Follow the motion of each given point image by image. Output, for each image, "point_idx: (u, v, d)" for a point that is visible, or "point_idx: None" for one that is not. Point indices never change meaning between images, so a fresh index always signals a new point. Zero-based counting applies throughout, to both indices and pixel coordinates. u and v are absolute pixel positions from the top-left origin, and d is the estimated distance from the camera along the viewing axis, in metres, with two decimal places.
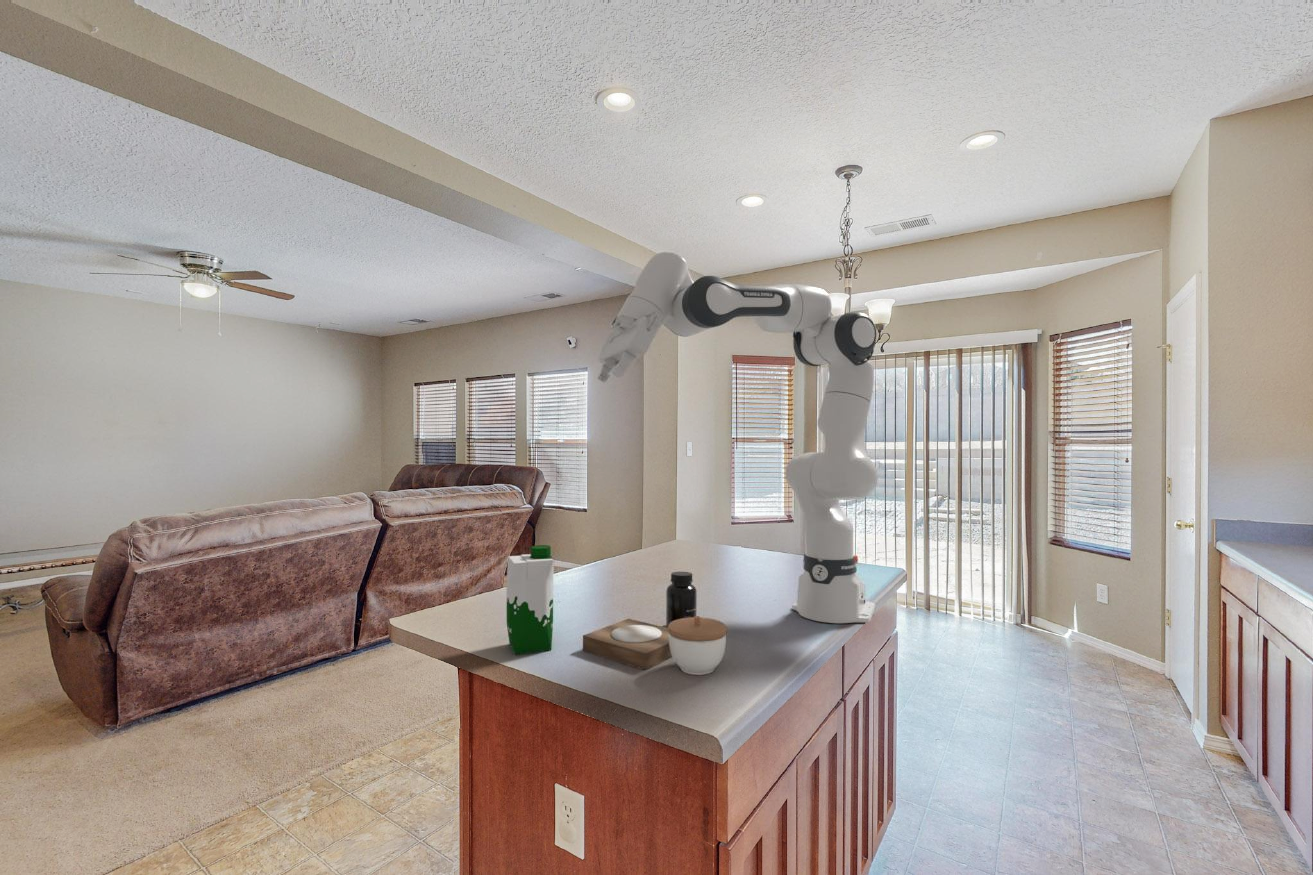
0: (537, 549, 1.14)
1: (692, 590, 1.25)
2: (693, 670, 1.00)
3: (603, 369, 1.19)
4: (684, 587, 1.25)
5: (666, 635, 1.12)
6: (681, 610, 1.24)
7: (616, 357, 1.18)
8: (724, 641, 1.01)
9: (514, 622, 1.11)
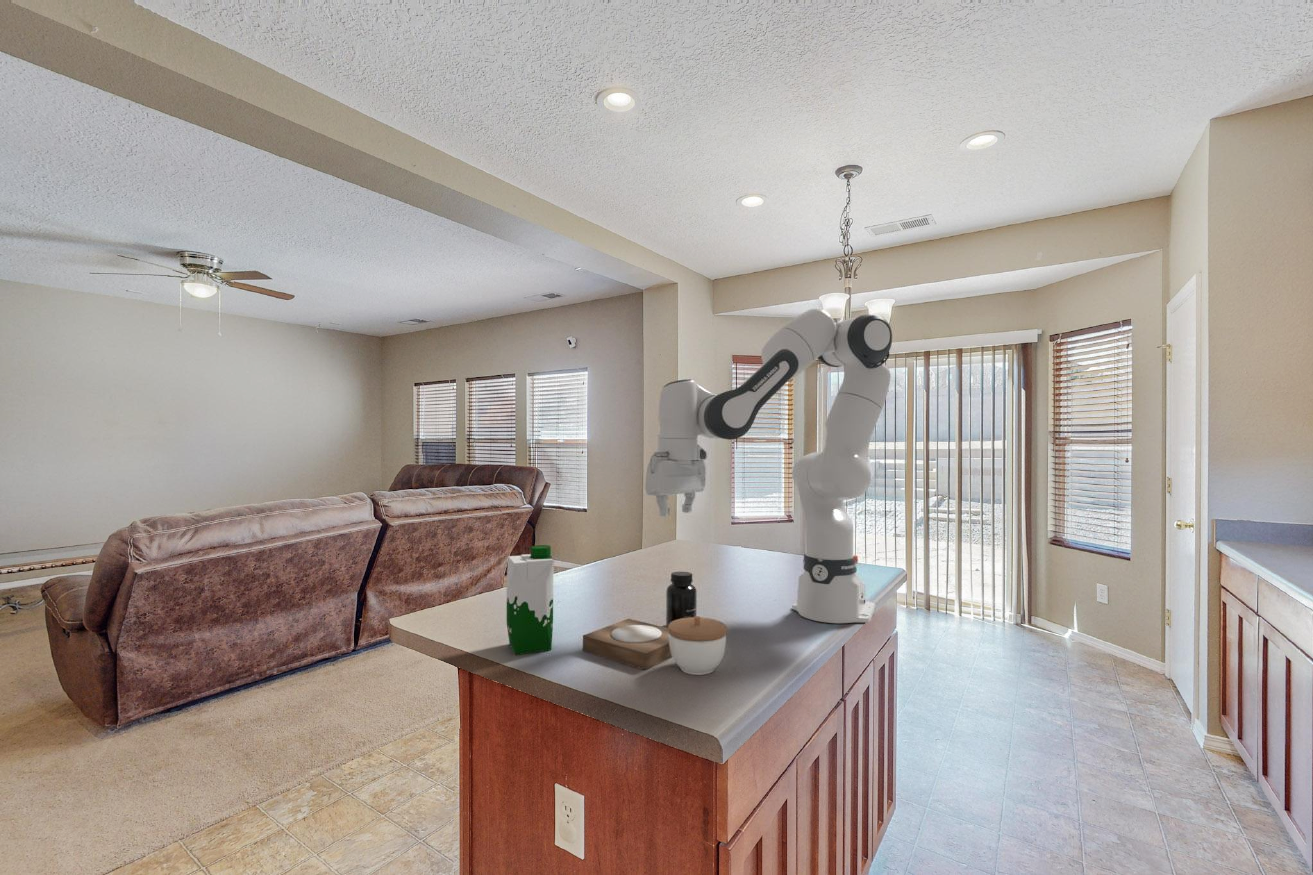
0: (537, 549, 1.14)
1: (692, 590, 1.25)
2: (693, 670, 1.00)
3: (685, 501, 1.31)
4: (684, 587, 1.25)
5: (666, 635, 1.12)
6: (681, 610, 1.24)
7: None
8: (724, 641, 1.01)
9: (514, 621, 1.11)
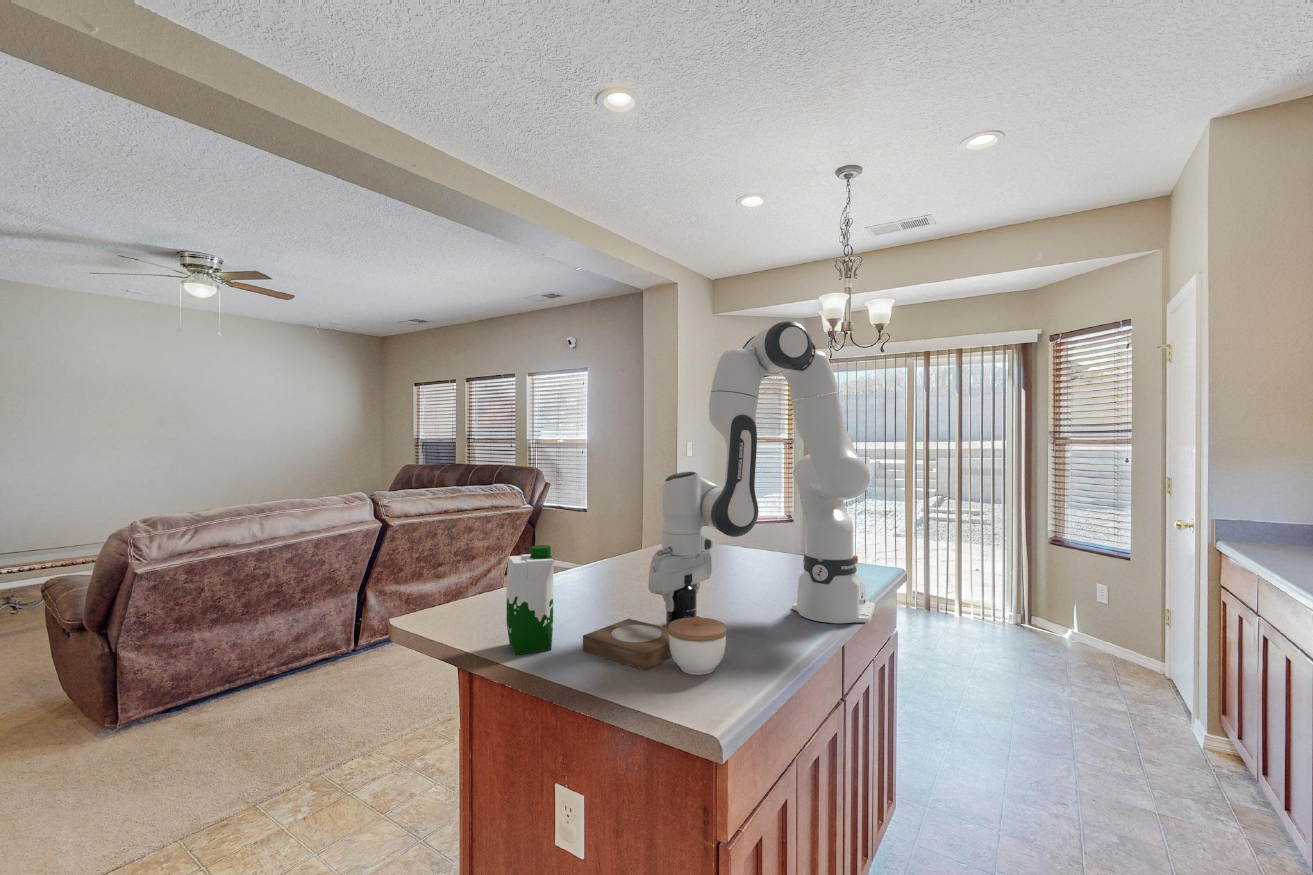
0: (537, 549, 1.14)
1: (692, 590, 1.25)
2: (693, 670, 1.00)
3: None
4: (684, 587, 1.25)
5: (666, 635, 1.12)
6: (681, 610, 1.24)
7: None
8: (724, 641, 1.01)
9: (514, 622, 1.11)
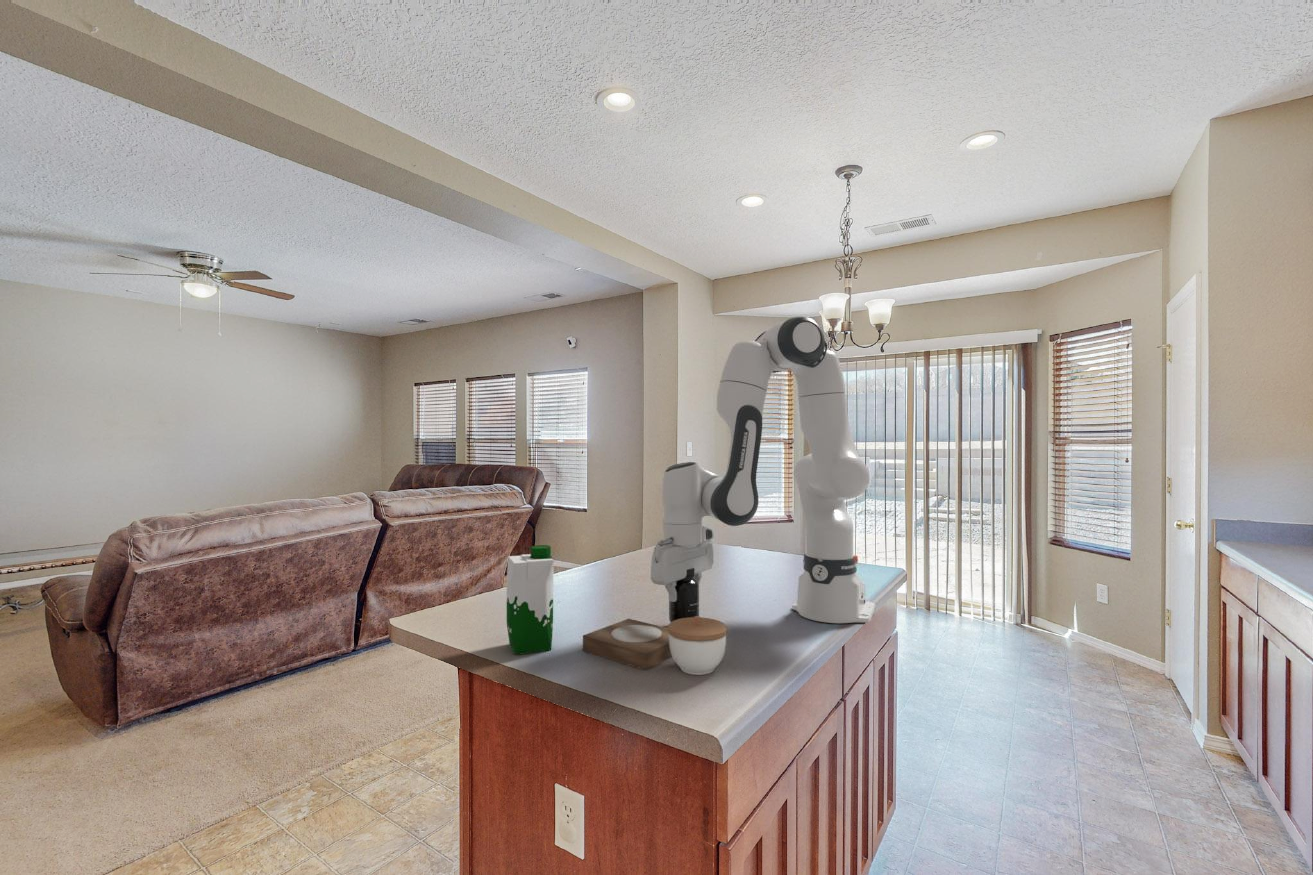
0: (537, 549, 1.14)
1: (695, 584, 1.25)
2: (693, 670, 1.00)
3: None
4: (687, 581, 1.25)
5: (666, 635, 1.12)
6: (684, 605, 1.24)
7: None
8: (724, 641, 1.01)
9: (514, 621, 1.11)
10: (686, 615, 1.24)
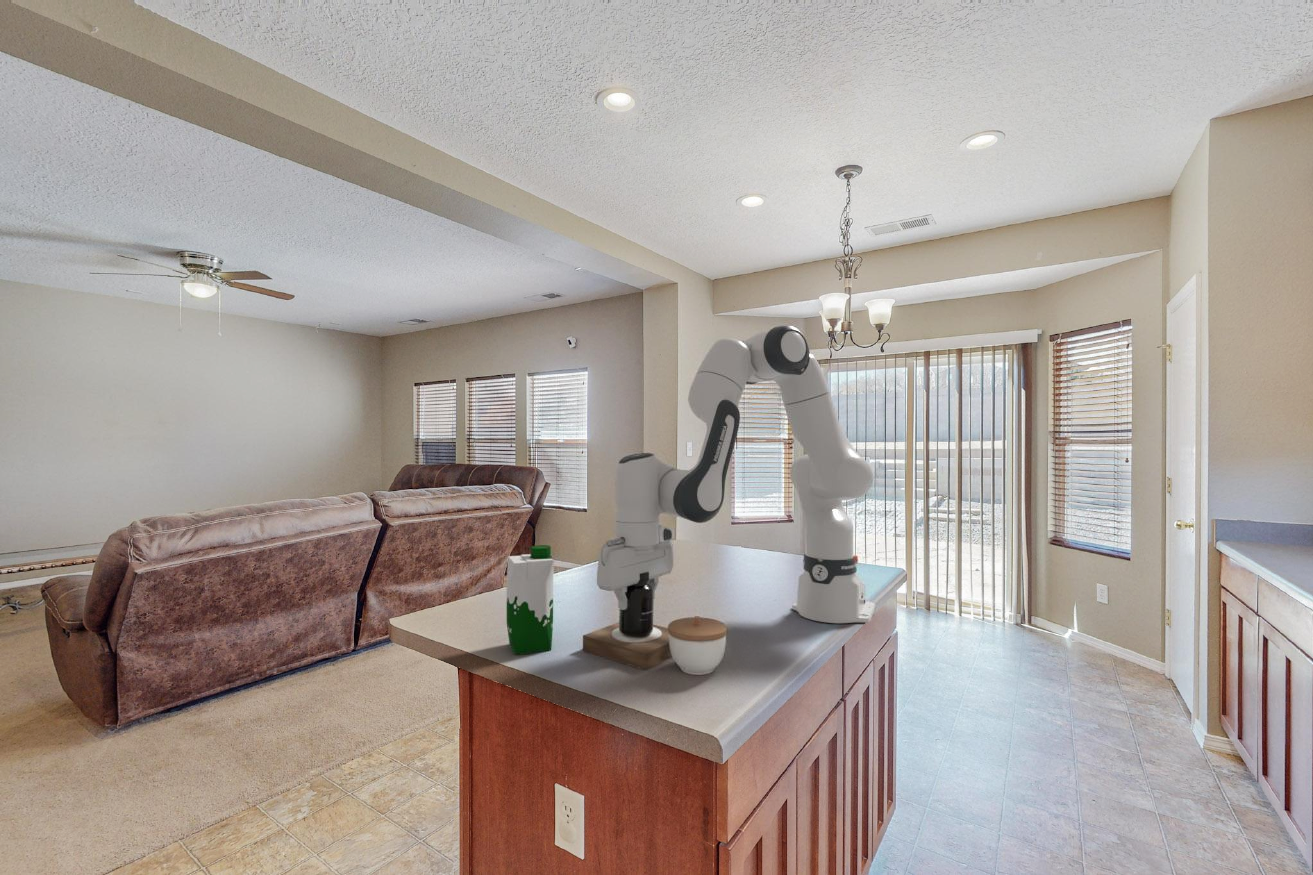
0: (537, 549, 1.14)
1: (648, 590, 1.11)
2: (693, 670, 1.00)
3: None
4: (639, 587, 1.11)
5: (666, 635, 1.12)
6: (635, 613, 1.10)
7: None
8: (724, 641, 1.01)
9: (514, 622, 1.11)
10: (637, 625, 1.10)
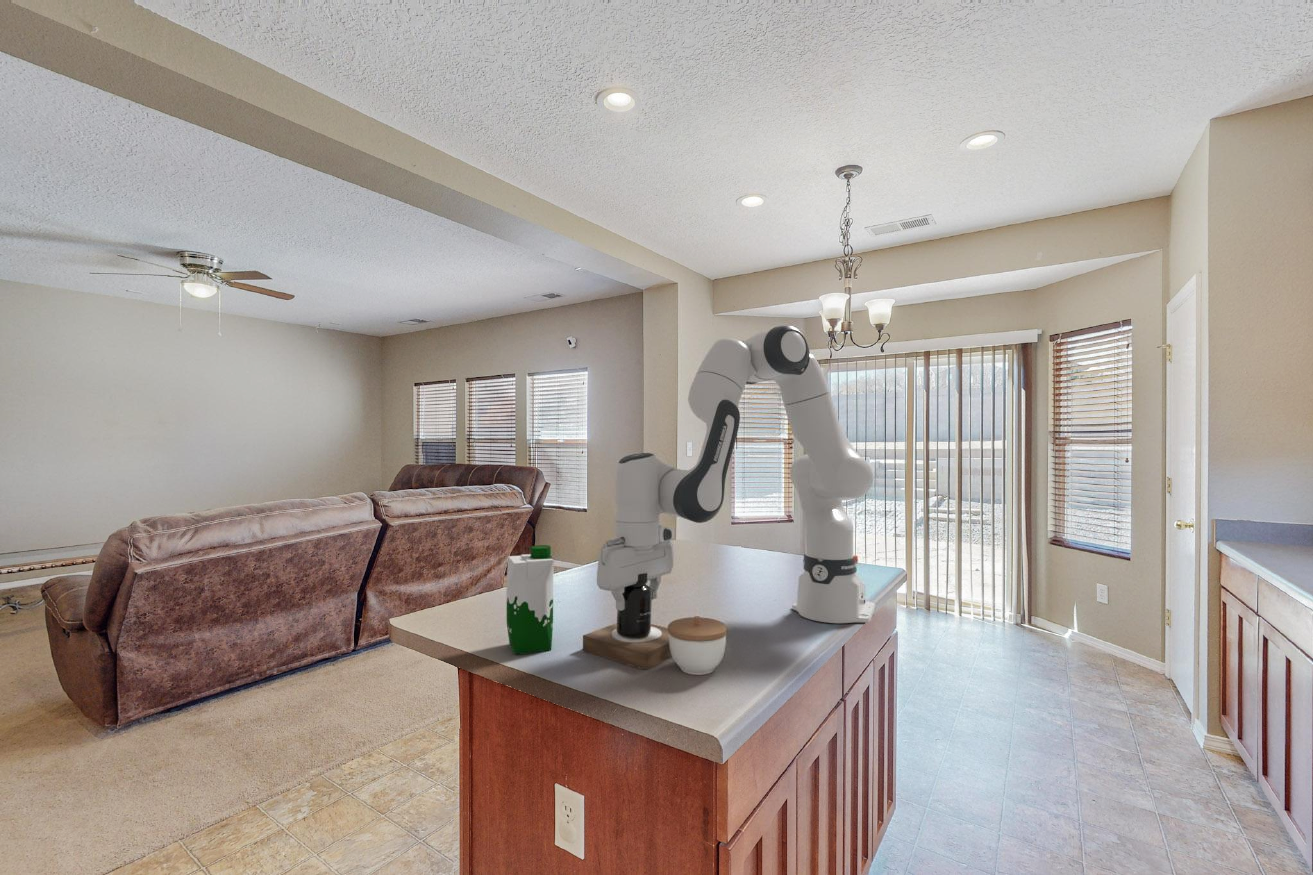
0: (537, 549, 1.14)
1: (647, 591, 1.11)
2: (693, 670, 1.00)
3: (650, 586, 1.18)
4: (638, 587, 1.10)
5: (666, 635, 1.12)
6: (633, 614, 1.09)
7: None
8: (724, 641, 1.01)
9: (514, 622, 1.11)
10: (634, 626, 1.09)
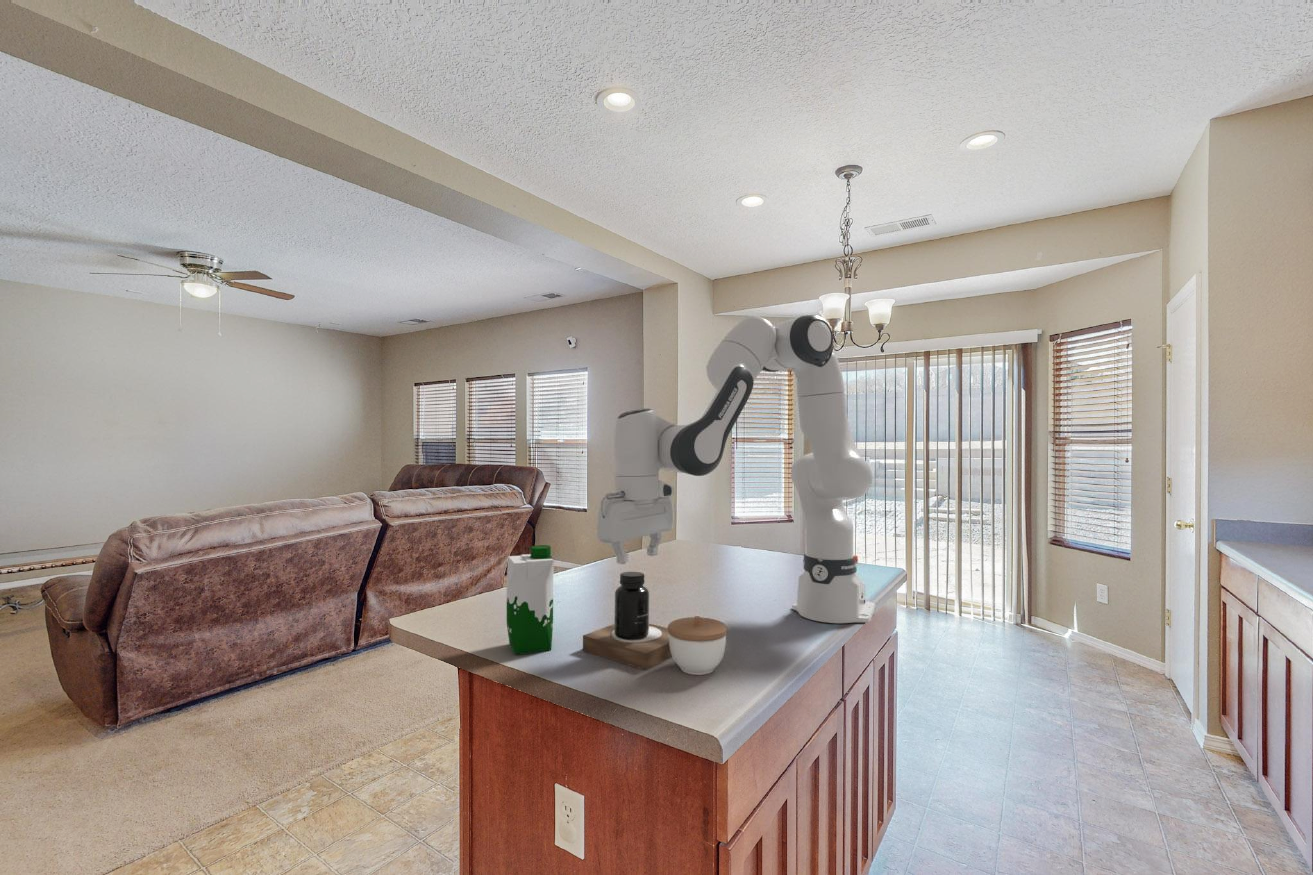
0: (537, 549, 1.14)
1: (644, 593, 1.10)
2: (693, 670, 1.00)
3: (650, 542, 1.18)
4: (635, 589, 1.10)
5: (666, 635, 1.12)
6: (631, 616, 1.08)
7: None
8: (724, 641, 1.01)
9: (514, 622, 1.11)
10: (632, 628, 1.08)
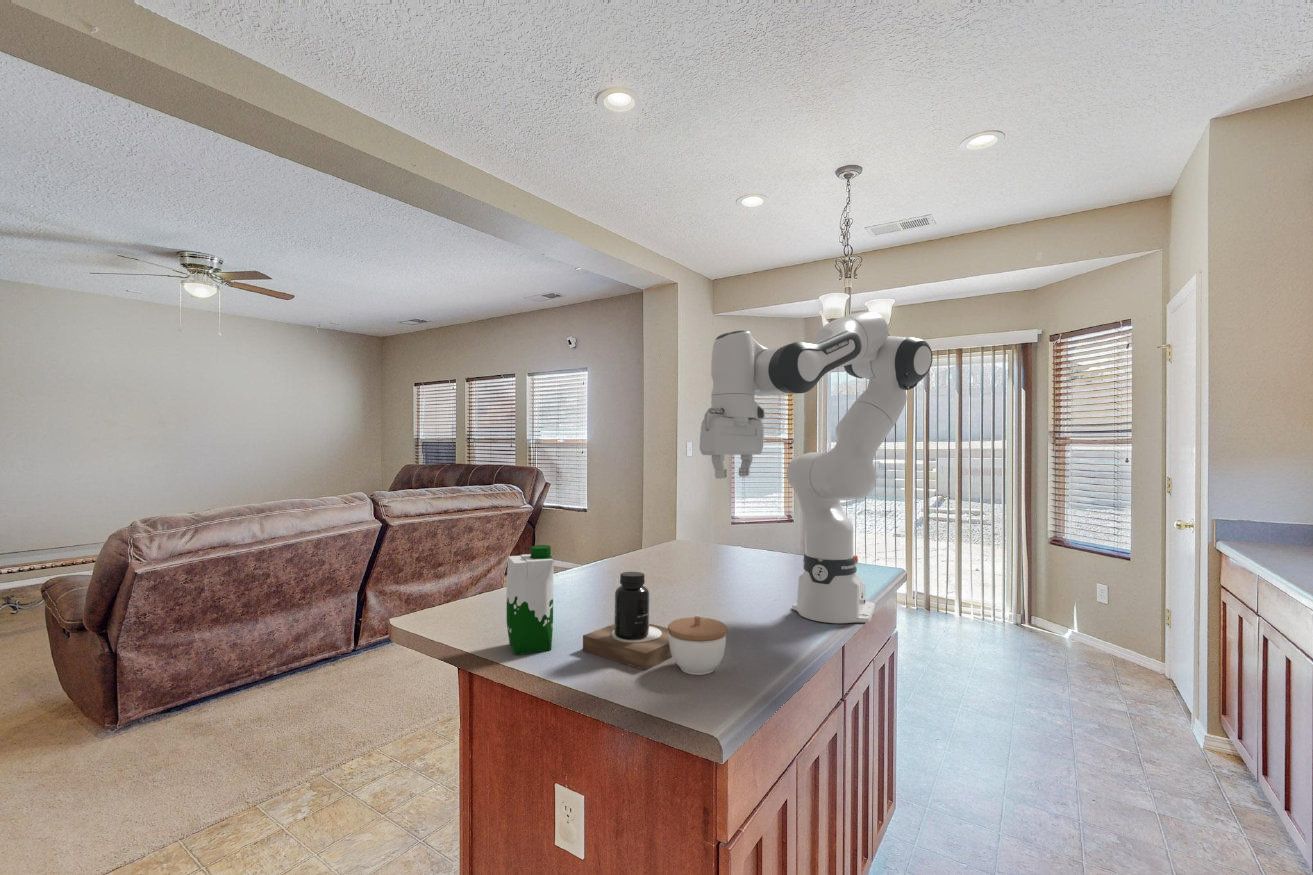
0: (537, 549, 1.14)
1: (644, 593, 1.10)
2: (693, 670, 1.00)
3: (742, 464, 1.21)
4: (635, 589, 1.10)
5: (666, 635, 1.12)
6: (631, 616, 1.08)
7: None
8: (724, 641, 1.01)
9: (514, 621, 1.11)
10: (632, 628, 1.08)
